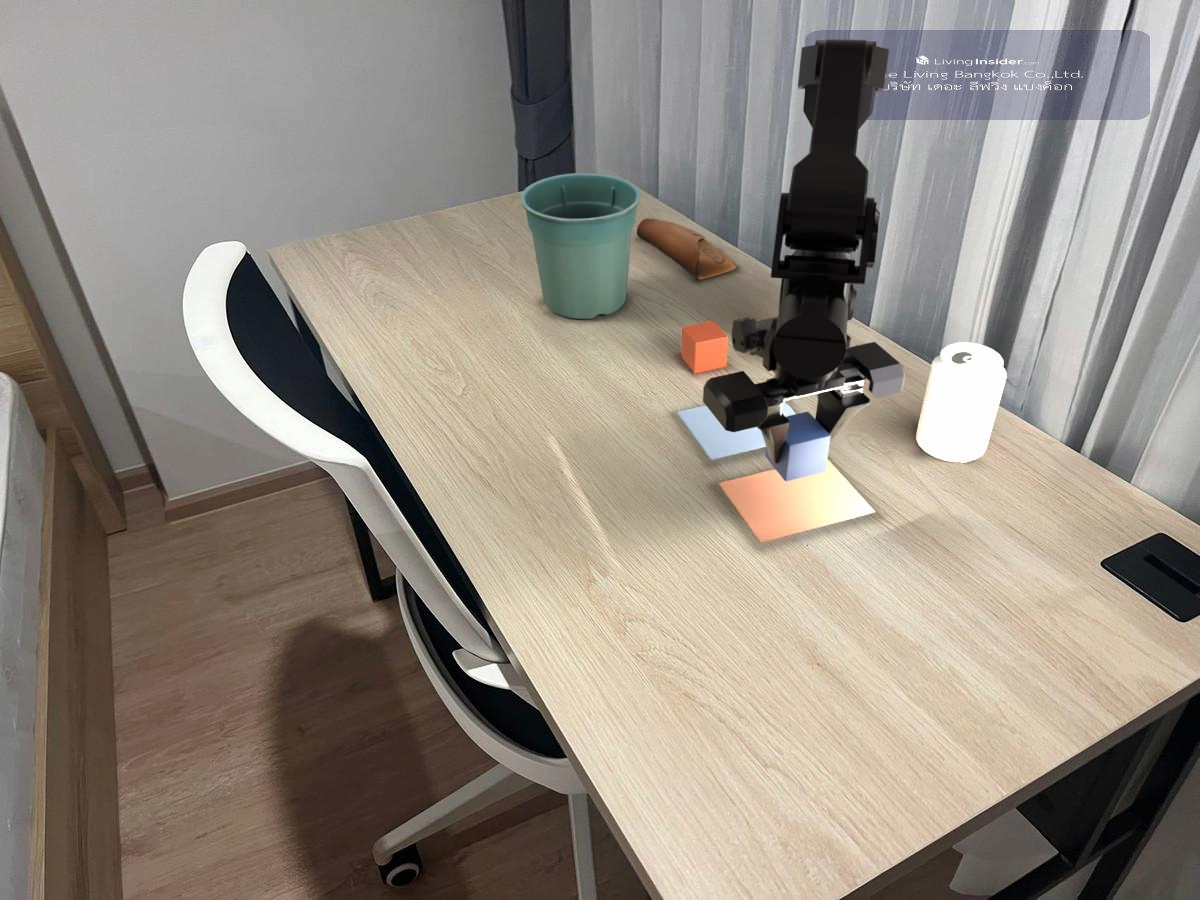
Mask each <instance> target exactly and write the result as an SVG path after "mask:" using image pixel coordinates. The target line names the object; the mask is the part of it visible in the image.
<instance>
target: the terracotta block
mask: <svg viewBox="0 0 1200 900" xmlns="http://www.w3.org/2000/svg"><path fill="white" fill-rule="evenodd" d="M680 337H681V339H680V340H681V341H680V357H681V359H682V360H683V361H684V363H685V364H686V365H687V366H688V367H689V369H690V370H691V371H692V372H693V373H694V374H700V373H705V372H708V371H712V370H713V371H714V370H719V369H723V368H727V362H728V361H727V360H728V345H729V336H728V335H727V334H726V333H725V332H724V330H723V329H722V328H721V327H720V326H719V325H718V324H717V323H716V322H715V321H714V320H709V321H704V322H700V323H695V324H690V325H685V326H681V336H680Z"/></svg>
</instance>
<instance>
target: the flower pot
mask: <svg viewBox="0 0 1200 900" xmlns="http://www.w3.org/2000/svg"><path fill="white" fill-rule="evenodd" d="M641 198H642V192H641V190H640V188H639V187H638V186H637V185H636V184H635V183H633V182H632V181H630V180H628V179H625V178H623V177H620V176H616V175H611V174H606V173H596V172H576V173H573V172H572V173H564V174H558V175H557V174H556V175H553V176H549V177H546V178H542V179H540V180H537V181H536V182H533V183H531V184H530V185H528V186H527V187H525V188H524V189H523V191H522V192H521V194H520V199H519V200H520V204H521V206H522V207H523V209H524V211H525V213H526V217H527V219H526V220H527V225H528V229H529V230H530V232H531V235H532V241H533V246H534V253H535V257H536V263H537V271H538V276H539V281H540V287H541V293H542V294H541V295H542V299H543V303H544V304H545V305H546V306H547V307H548V310H549V311H550V312H552V313H553V314H556V315H558V316H561V317H564V318H569V319H575V320H578V319H579V320H587V319H594V318H595V317H597V316H598V315H604V316H607V315H611V314H614V313H615V312H617V311H618V310H619V309H620V308H622V307H623V305H624V304H625V303H626V299H627V293H628V281H629V270H630V269H629V268H630V258H631V256H630V255H631V246H632V245H631V244H632V235H633V228H635V227H634V226H635V224H636V216H637V208H638V207H637V206H638V205H639V203H640V201H641Z"/></svg>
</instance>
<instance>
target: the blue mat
mask: <svg viewBox="0 0 1200 900" xmlns="http://www.w3.org/2000/svg"><path fill="white" fill-rule="evenodd" d="M782 413H783V415H784V416H785V417H786V416H791V415H795V414H797V412H795V411H794V410H793V409H792V407H791V406H790V405H789V404H788V403H787V401H784V403H783V405H782ZM676 414H677V415H678V416H679V418H680V419H681V420H682V422H683V423H684V425H685V426H686V427H687V429H688V430H689V431H690V433H691V435H692V436H693V437H694V439H695V440H696V441H697V442H698V444H699V446H701V448H702V450H703V451H704V452H705V454H706V455H707V456H708V458H709V459H710V460H711V461H712V460H716V459H721V458H725V457H729V456H733V455H736V454H740V453H741V454H742V453H745V452H750V451H752V450H757V449H761V448H766V444H765V441H764V438H763V435H762V432H761V430H760V429H758V428H757V427H754V428H750V429H746V430H742V431H737V432H730V431H726V430H725V429H724V428H723V426H722V425H721V424H720V423H719V421H718V420H717V419H716V417H715V416H714V415H713V414H712V412H711V411H710V410H709V409H708V407H707V406H706V405H705V404H704V405H701V406H696V407H691V408H687V409H682V410H677V411H676Z"/></svg>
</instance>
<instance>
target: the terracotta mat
mask: <svg viewBox="0 0 1200 900" xmlns="http://www.w3.org/2000/svg"><path fill="white" fill-rule="evenodd" d="M717 484H718V485H719V487H720V488H721V489H722V491H723V493H724V494H725V495H726V497H727V498H728V499H729V501H730V503H731V504H732V505H733V506H734V508H735V509H736V511H737V512H738V513H739V515H740V517H741V518H742V519H743V520H744V522H745V524H746V525H747V526H748V527H749V529H750V530H751V532H752V534H753V535H754V536H755V537H756V539H757V540H758V542H759V543H760V544H763V543H765V542H769V541H773V540H778V539H781V538H784V537H787V536H792V535H796V534H800V533H803V532H807V531H810V530H814V529H818V528H821V527H825V526H829V525H832V524H836V523H839V522H844V521H847V520H851V519H856V518H858V517H863V516H866V515H869V514H872V513H876V511H875V509H874V508H872V506H871V505H870V504H869V503H868V502H867V501H866V500H865V498H864V497H862V495H861V494H860V493H859V492H858V491H857V489H855V487H853V485H852V484H851V483H850V482H849V481H848V479H847V478H846V477H845V476H844V475H843V474H842V473H841V472H840V471H839V469H838V468H837V467H836V466H835V465H834V464H833V463H832V462H831V460H830V459H829V458H827V464H826V471H825V472H822V473H818V474H814V475H810V476H806V477H802V478H798V479H794V480H790V481H787V482H785V481H784V479H783V478H782V477H781V476H780V474H779V473H778V472H777V471H776V469H775V468H773V469H768V470H764V471H762V472H757V473H753V474H749V475H744V476H742V477H741V476H740V477H737V478H734V479H729V480H724V481H720V482H718V483H717Z"/></svg>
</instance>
